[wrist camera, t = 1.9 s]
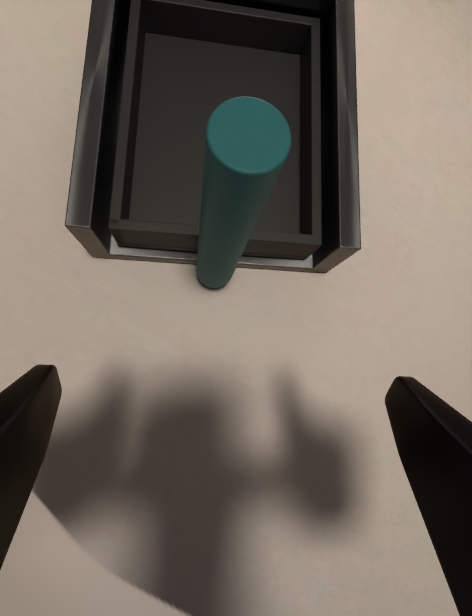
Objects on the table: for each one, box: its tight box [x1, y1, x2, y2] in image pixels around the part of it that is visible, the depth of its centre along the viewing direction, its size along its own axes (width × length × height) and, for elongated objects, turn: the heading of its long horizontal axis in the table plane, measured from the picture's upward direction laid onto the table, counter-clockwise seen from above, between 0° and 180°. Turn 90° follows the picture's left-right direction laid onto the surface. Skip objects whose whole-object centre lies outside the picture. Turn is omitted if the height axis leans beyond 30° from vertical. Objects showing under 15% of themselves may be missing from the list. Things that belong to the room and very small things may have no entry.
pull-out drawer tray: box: [65, 0, 361, 273], centre depth 22 cm, size 17×15×5 cm
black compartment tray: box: [108, 0, 322, 288], centre depth 17 cm, size 17×12×13 cm
